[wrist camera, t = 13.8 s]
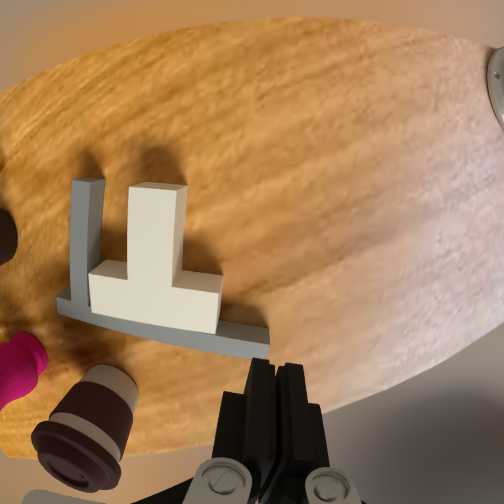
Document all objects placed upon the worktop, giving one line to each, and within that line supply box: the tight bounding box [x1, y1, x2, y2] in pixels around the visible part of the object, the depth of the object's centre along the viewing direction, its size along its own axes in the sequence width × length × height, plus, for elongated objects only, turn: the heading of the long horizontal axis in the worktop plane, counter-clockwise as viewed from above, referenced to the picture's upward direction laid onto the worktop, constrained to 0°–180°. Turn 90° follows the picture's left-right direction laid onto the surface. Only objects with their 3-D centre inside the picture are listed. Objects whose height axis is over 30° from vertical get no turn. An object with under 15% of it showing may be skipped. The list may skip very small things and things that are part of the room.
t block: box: [88, 182, 224, 334], centre depth 27 cm, size 12×12×4 cm
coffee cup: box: [31, 365, 139, 493], centre depth 28 cm, size 10×10×15 cm
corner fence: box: [56, 177, 270, 359], centre depth 28 cm, size 22×14×3 cm, turn 79°
